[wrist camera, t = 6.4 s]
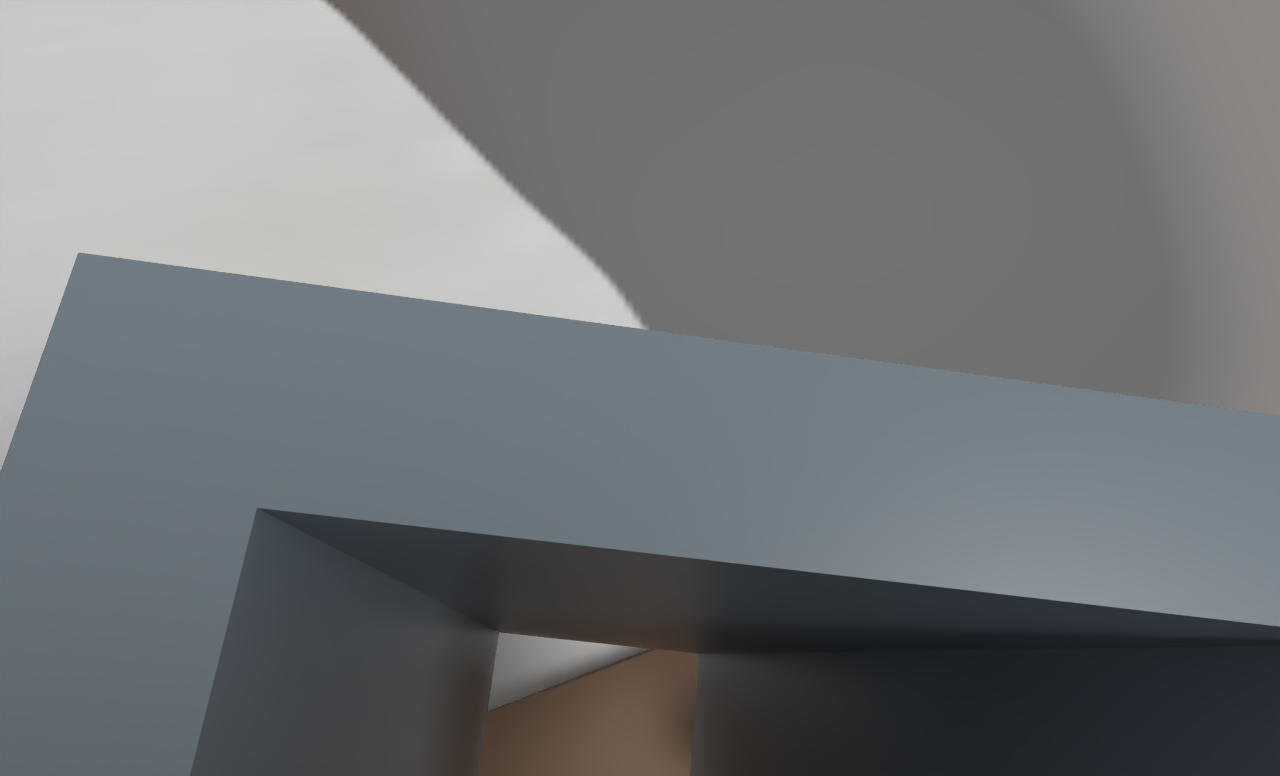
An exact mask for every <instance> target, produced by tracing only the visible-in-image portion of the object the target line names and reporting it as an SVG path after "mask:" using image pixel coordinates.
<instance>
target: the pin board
mask: <svg viewBox="0 0 1280 776" xmlns="http://www.w3.org/2000/svg"><path fill="white" fill-rule="evenodd" d="M698 660H699V654H696V653H687V652H678V651H668V650H659V649H650V650H647V651H645V652H642V653H639V654H637V655H634V656H632V657H629V658H626V659H624V660H621V661H619V662H616V663H613V664H611V665H608V666H606V667H603V668H600V669H598V670H595V671H593V672H590V673H587V674H585V675H582V676H580V677H577V678H574V679H572V680H569V681H567V682H564V683H561V684H559V685H556V686H554V687H551V688H548V689H546V690H543V691H541V692H538V693H535V694H533V695H530V696H528V697H525V698H522V699H520V700H517V701H515V702H512V703H509V704H507V705H504V706H502V707H499V708H496V709H494V710H491V711H489V712H487V716H486V722H485V729H484V736H483V743H482V749H481V756H480V763H479V769H478V776H690V767H691V754H692V740H693V727H694V713H695V700H696V687H697V673H698Z"/></svg>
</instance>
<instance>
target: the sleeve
mask: <svg viewBox="0 0 1280 776" xmlns="http://www.w3.org/2000/svg"><path fill="white" fill-rule="evenodd" d="M499 632H501V633H511V634H520V635H529V636H538V637H548V638H557V639H566V640H576V641H585V642H594V643H603V644H613V645H622V646H631V647H641V648H650V649H659V650H668V651H678V652H687V653H696V654H699V660H698V673H697V687H696V700H695V713H694V727H693V740H692V754H691V767H690V776H1280V416H1277V415H1270V414H1263V413H1256V412H1248V411H1241V410H1234V409H1225V408H1219V407H1211V406H1204V405H1197V404H1189V403H1182V402H1175V401H1167V400H1160V399H1152V398H1145V397H1138V396H1131V395H1123V394H1115V393H1108V392H1101V391H1094V390H1086V389H1079V388H1072V387H1064V386H1057V385H1050V384H1042V383H1035V382H1027V381H1020V380H1013V379H1005V378H998V377H991V376H983V375H976V374H968V373H961V372H954V371H946V370H939V369H932V368H924V367H917V366H910V365H902V364H894V363H887V362H880V361H873V360H865V359H858V358H851V357H843V356H835V355H828V354H821V353H813V352H806V351H799V350H792V349H783V348H777V347H769V346H762V345H755V344H747V343H740V342H732V341H725V340H718V339H710V338H703V337H696V336H689V335H681V334H673V333H666V332H659V331H651V330H644V329H637V328H630V327H622V326H615V325H608V324H600V323H593V322H585V321H578V320H571V319H563V318H556V317H549V316H541V315H534V314H527V313H519V312H512V311H504V310H497V309H490V308H482V307H475V306H468V305H460V304H453V303H446V302H438V301H431V300H423V299H416V298H409V297H401V296H394V295H387V294H379V293H372V292H364V291H357V290H350V289H342V288H335V287H328V286H320V285H313V284H306V283H298V282H291V281H283V280H276V279H269V278H261V277H254V276H247V275H239V274H232V273H225V272H217V271H210V270H202V269H195V268H188V267H180V266H173V265H166V264H158V263H151V262H143V261H136V260H129V259H121V258H114V257H107V256H99V255H92V254H85V253H78V255H77V258H76V261H75V264H74V267H73V269H72V272H71V275H70V278H69V281H68V283H67V286H66V289H65V292H64V295H63V298H62V300H61V303H60V306H59V309H58V312H57V315H56V317H55V320H54V323H53V326H52V329H51V331H50V334H49V337H48V340H47V343H46V346H45V348H44V351H43V354H42V357H41V360H40V363H39V365H38V368H37V371H36V374H35V377H34V379H33V382H32V385H31V388H30V391H29V394H28V396H27V399H26V402H25V405H24V408H23V410H22V413H21V416H20V419H19V422H18V425H17V427H16V430H15V433H14V436H13V439H12V442H11V444H10V447H9V450H8V453H7V456H6V458H5V461H4V464H3V467H2V470H1V473H0V776H478V769H479V763H480V756H481V749H482V743H483V736H484V729H485V722H486V716H487V709H488V702H489V696H490V689H491V682H492V675H493V669H494V662H495V655H496V648H497V642H498V635H499Z"/></svg>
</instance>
